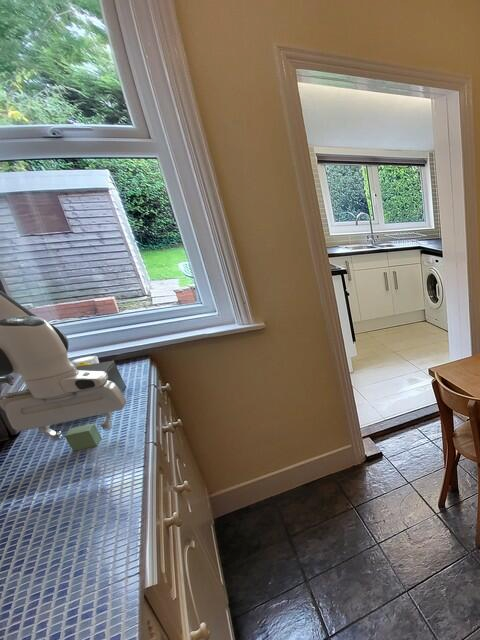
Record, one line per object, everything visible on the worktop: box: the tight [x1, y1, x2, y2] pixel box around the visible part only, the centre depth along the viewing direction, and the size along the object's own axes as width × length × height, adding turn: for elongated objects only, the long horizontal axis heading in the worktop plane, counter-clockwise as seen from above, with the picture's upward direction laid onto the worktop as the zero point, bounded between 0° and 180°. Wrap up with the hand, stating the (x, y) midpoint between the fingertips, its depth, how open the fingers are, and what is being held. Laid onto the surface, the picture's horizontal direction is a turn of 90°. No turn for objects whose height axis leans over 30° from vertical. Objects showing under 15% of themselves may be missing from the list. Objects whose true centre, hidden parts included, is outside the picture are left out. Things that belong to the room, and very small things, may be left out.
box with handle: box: [76, 360, 127, 393], centre depth 129 cm, size 14×13×10 cm
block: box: [64, 423, 103, 452], centre depth 104 cm, size 4×4×4 cm
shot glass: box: [70, 355, 100, 367], centre depth 148 cm, size 7×7×7 cm
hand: (84, 434), depth 103 cm, fingers open, 8 cm apart
